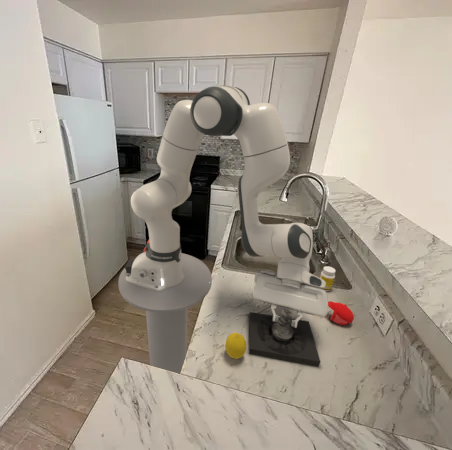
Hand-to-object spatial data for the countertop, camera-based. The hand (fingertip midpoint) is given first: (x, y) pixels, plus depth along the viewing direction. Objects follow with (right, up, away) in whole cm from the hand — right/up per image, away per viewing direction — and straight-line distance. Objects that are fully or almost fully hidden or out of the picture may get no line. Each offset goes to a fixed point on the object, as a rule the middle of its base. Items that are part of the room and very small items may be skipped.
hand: (284, 324), depth 72 cm
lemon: (-14, -8, -2) cm, 17 cm away
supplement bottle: (+24, +4, +25) cm, 35 cm away
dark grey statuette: (0, -6, +3) cm, 7 cm away
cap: (+21, -3, +11) cm, 24 cm away
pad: (0, -6, +3) cm, 7 cm away
